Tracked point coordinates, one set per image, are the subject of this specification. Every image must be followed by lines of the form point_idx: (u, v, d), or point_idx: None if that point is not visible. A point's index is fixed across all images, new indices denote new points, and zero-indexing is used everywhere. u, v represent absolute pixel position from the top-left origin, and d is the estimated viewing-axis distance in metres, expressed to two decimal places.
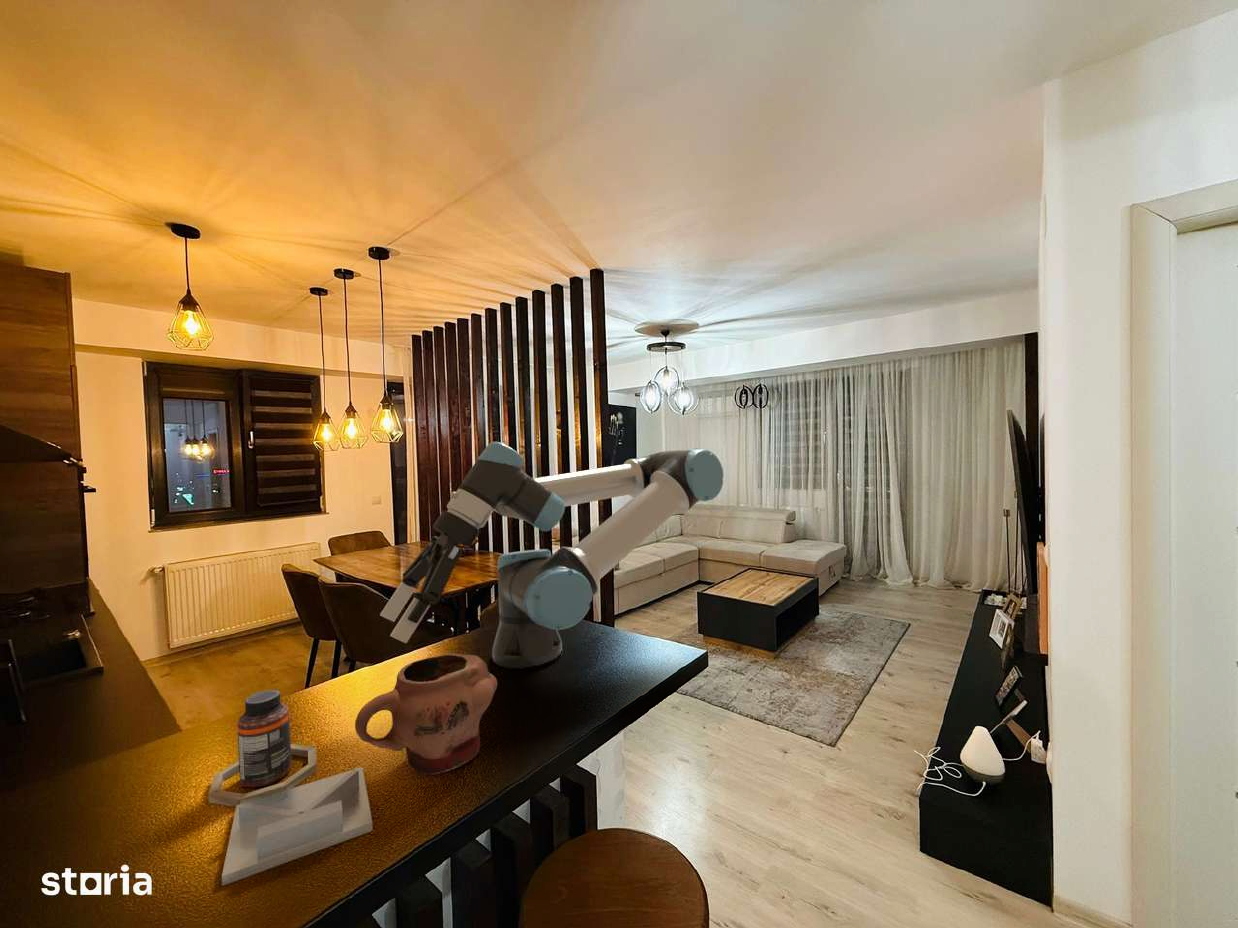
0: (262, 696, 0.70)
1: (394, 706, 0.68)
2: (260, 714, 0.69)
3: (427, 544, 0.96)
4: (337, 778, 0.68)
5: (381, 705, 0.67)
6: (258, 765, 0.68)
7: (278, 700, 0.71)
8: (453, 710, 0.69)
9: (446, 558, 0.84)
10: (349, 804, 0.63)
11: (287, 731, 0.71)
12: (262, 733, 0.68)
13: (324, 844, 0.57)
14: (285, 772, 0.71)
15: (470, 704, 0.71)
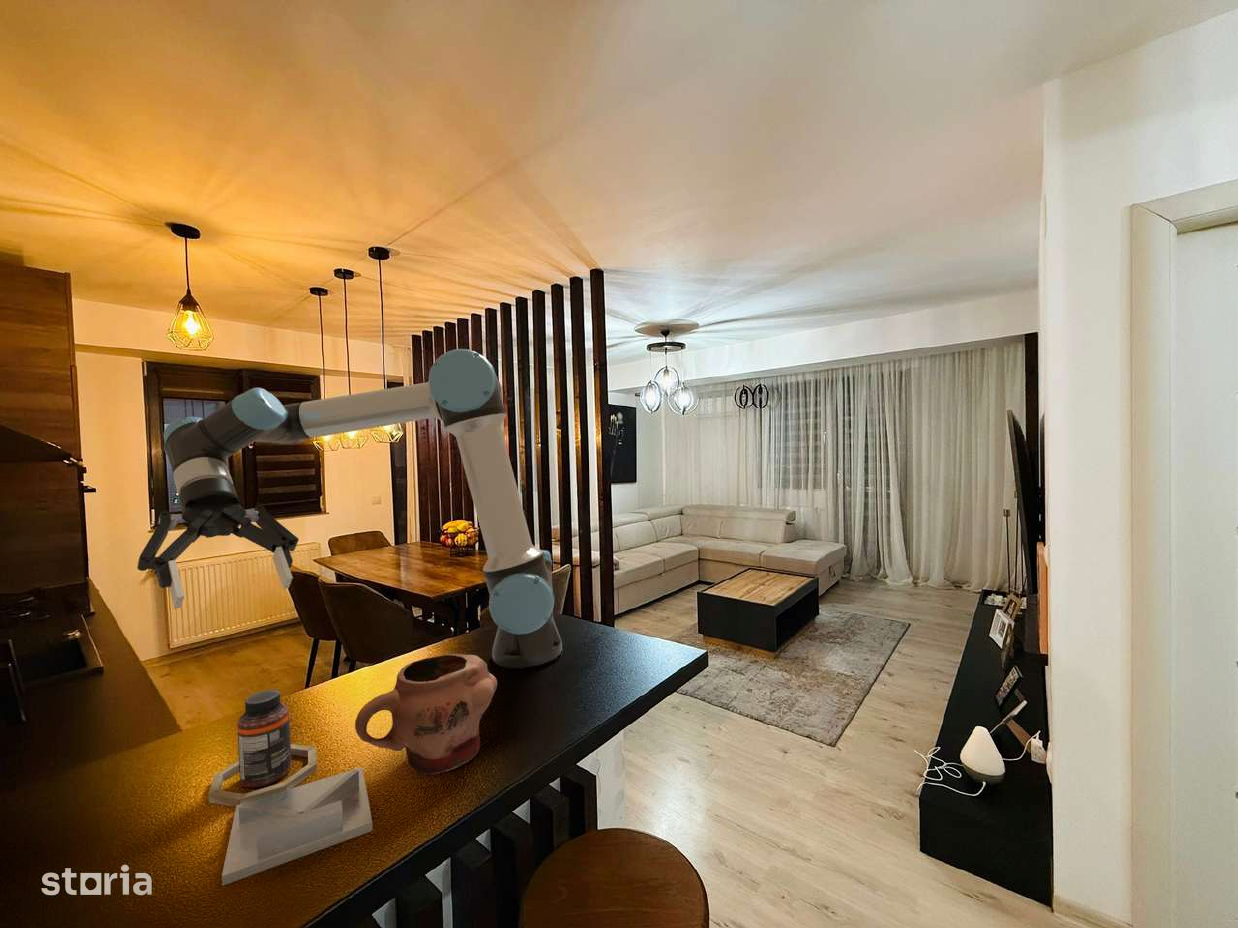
0: (262, 696, 0.70)
1: (394, 706, 0.68)
2: (260, 714, 0.69)
3: None
4: (337, 778, 0.68)
5: (381, 705, 0.67)
6: (258, 765, 0.68)
7: (278, 700, 0.71)
8: (453, 710, 0.69)
9: None
10: (349, 804, 0.63)
11: (287, 731, 0.71)
12: (262, 733, 0.68)
13: (324, 844, 0.57)
14: (285, 772, 0.71)
15: (470, 704, 0.71)
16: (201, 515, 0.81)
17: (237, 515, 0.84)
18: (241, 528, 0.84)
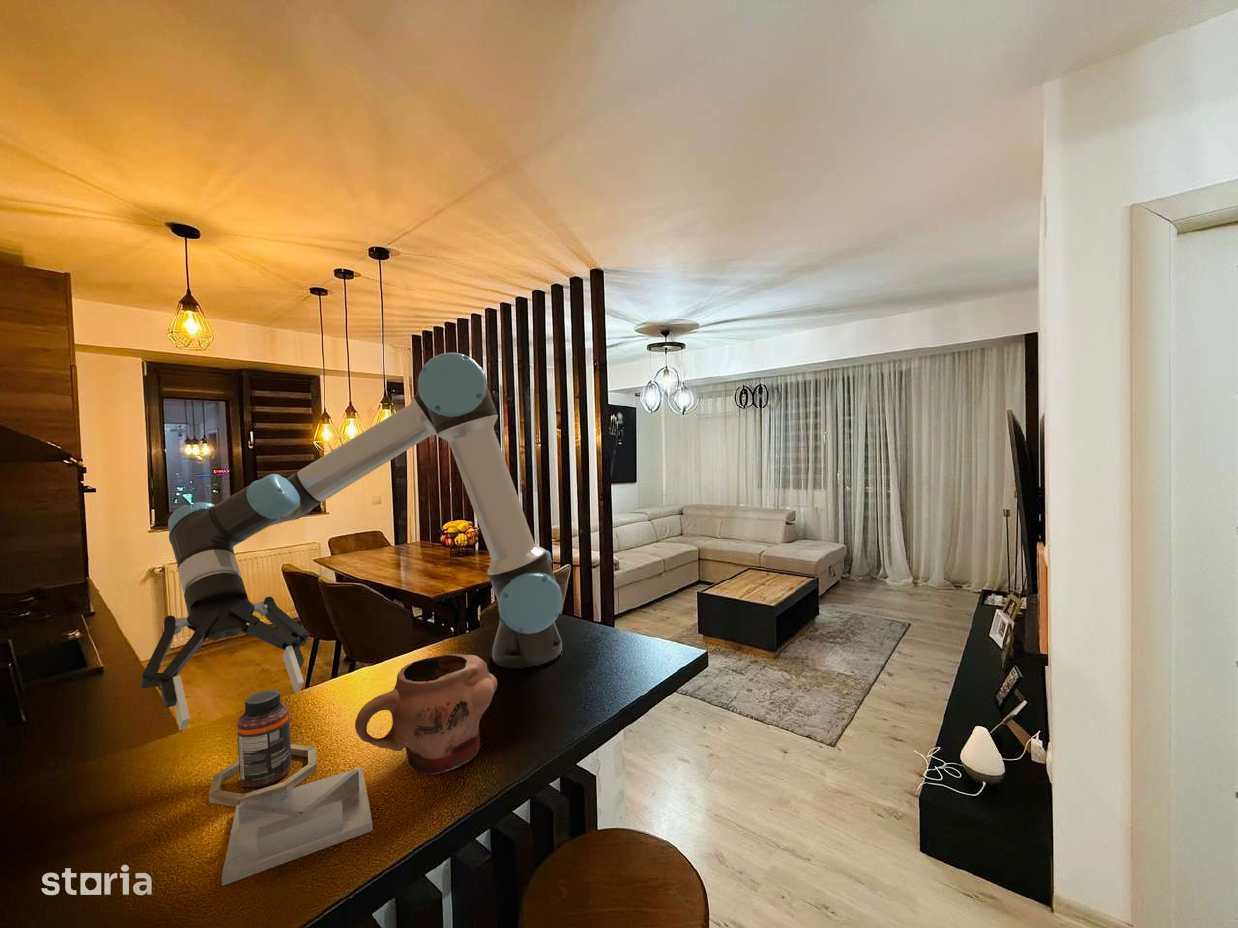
0: (262, 696, 0.70)
1: (394, 706, 0.68)
2: (260, 714, 0.69)
3: None
4: (337, 778, 0.68)
5: (381, 705, 0.67)
6: (258, 765, 0.68)
7: (278, 700, 0.71)
8: (453, 710, 0.69)
9: None
10: (349, 804, 0.63)
11: (287, 731, 0.71)
12: (262, 733, 0.68)
13: (324, 844, 0.57)
14: (285, 772, 0.71)
15: (470, 704, 0.71)
16: (207, 618, 0.77)
17: (245, 613, 0.80)
18: (249, 627, 0.80)
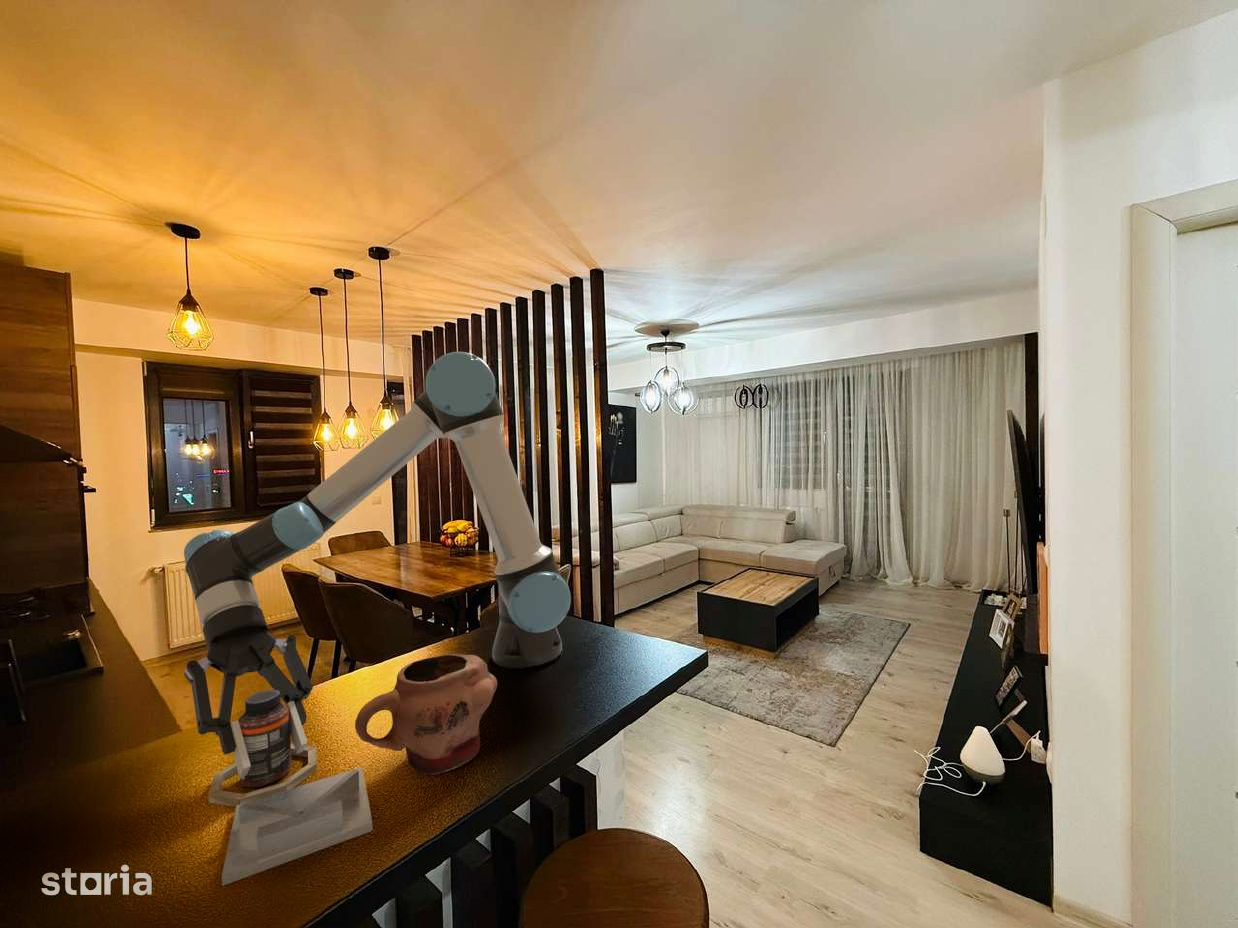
0: (262, 696, 0.70)
1: (394, 706, 0.68)
2: (260, 714, 0.69)
3: None
4: (337, 778, 0.68)
5: (381, 705, 0.67)
6: (258, 765, 0.68)
7: (278, 700, 0.71)
8: (453, 710, 0.69)
9: (192, 683, 0.70)
10: (349, 804, 0.63)
11: (287, 731, 0.71)
12: (262, 733, 0.68)
13: (324, 844, 0.57)
14: (285, 772, 0.71)
15: (470, 704, 0.71)
16: (231, 655, 0.73)
17: (264, 650, 0.76)
18: (262, 667, 0.76)
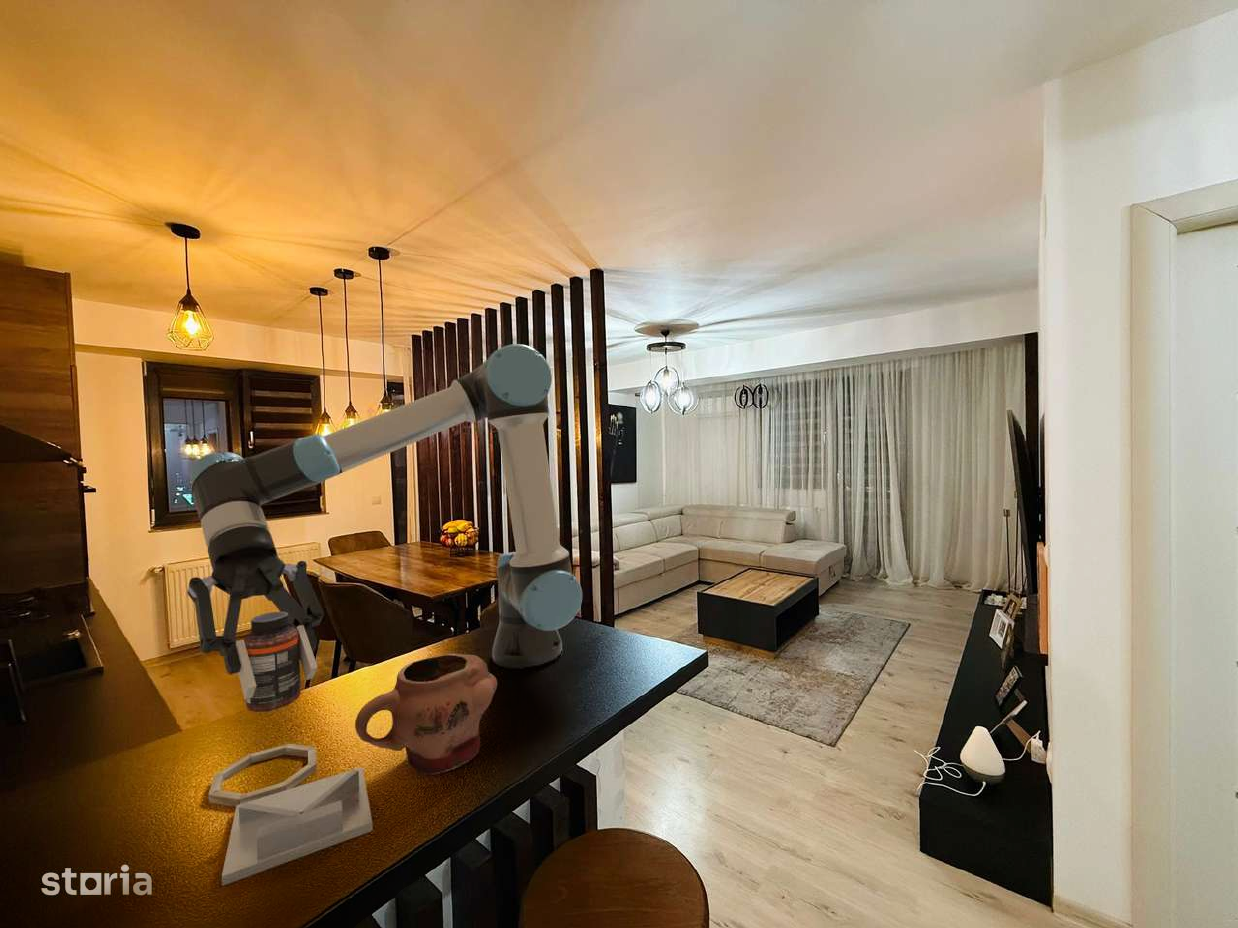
0: (269, 616, 0.65)
1: (394, 706, 0.68)
2: (267, 634, 0.64)
3: None
4: (337, 778, 0.68)
5: (381, 705, 0.67)
6: (265, 688, 0.63)
7: (286, 621, 0.66)
8: (453, 710, 0.69)
9: (195, 602, 0.65)
10: (349, 804, 0.63)
11: (296, 655, 0.66)
12: (269, 654, 0.63)
13: (324, 844, 0.57)
14: (294, 698, 0.65)
15: (470, 704, 0.71)
16: (237, 575, 0.68)
17: (272, 573, 0.71)
18: (270, 590, 0.70)
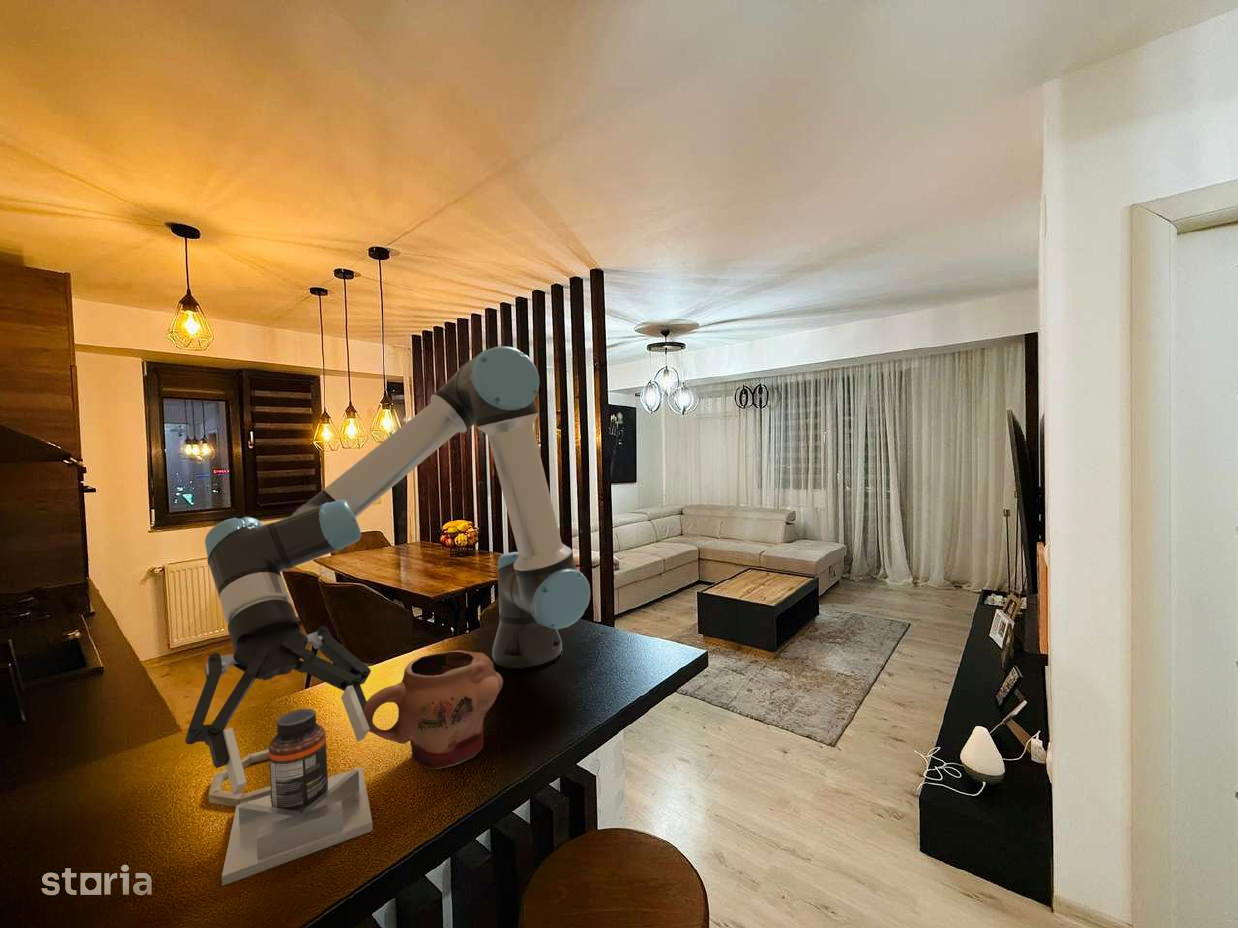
0: (296, 717, 0.62)
1: (400, 698, 0.69)
2: (295, 737, 0.61)
3: None
4: (337, 778, 0.68)
5: (388, 696, 0.69)
6: (293, 796, 0.60)
7: (314, 721, 0.63)
8: (457, 705, 0.70)
9: (206, 680, 0.62)
10: (349, 804, 0.63)
11: (324, 756, 0.63)
12: (297, 759, 0.60)
13: (324, 844, 0.57)
14: None
15: (475, 701, 0.72)
16: (257, 654, 0.65)
17: (299, 647, 0.68)
18: (304, 663, 0.68)
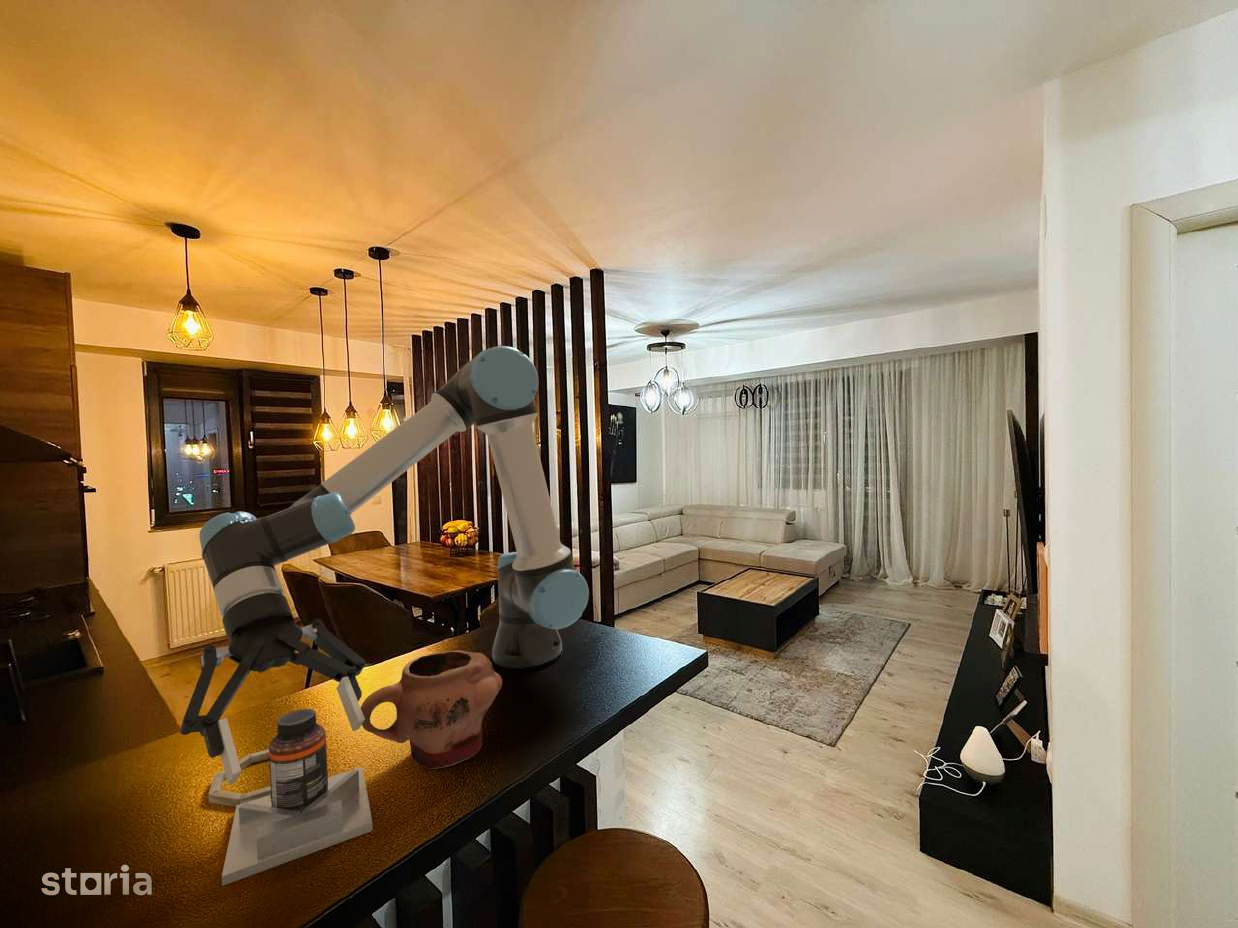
0: (296, 717, 0.62)
1: (397, 699, 0.70)
2: (295, 737, 0.61)
3: None
4: (337, 778, 0.68)
5: (384, 696, 0.69)
6: (293, 796, 0.60)
7: (314, 721, 0.63)
8: (452, 706, 0.70)
9: None
10: (349, 804, 0.63)
11: (324, 756, 0.63)
12: (297, 759, 0.60)
13: (324, 844, 0.57)
14: None
15: (471, 702, 0.72)
16: (252, 647, 0.66)
17: (294, 639, 0.69)
18: (299, 655, 0.69)
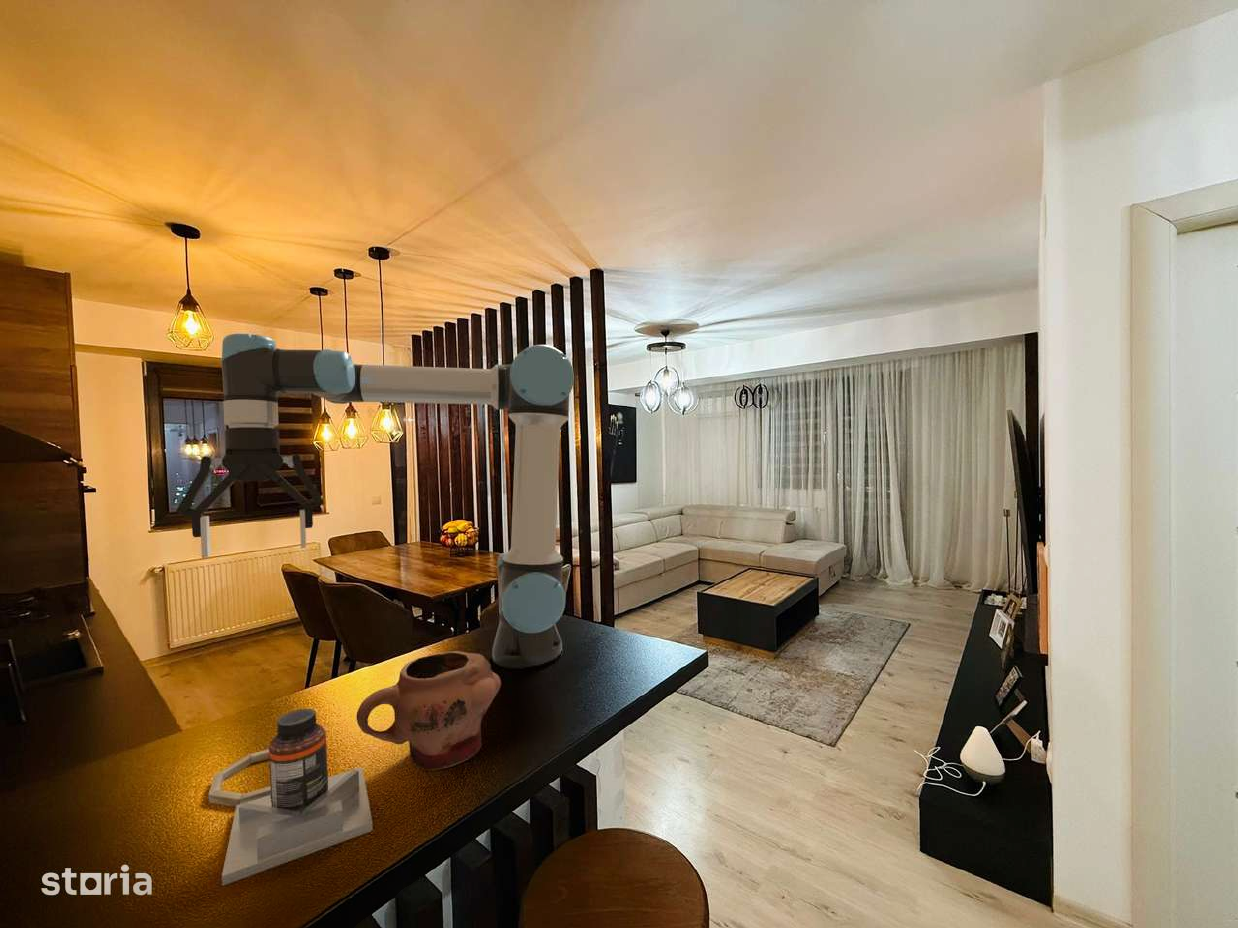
0: (296, 716, 0.62)
1: (394, 701, 0.70)
2: (295, 737, 0.61)
3: None
4: (337, 778, 0.68)
5: (381, 699, 0.69)
6: (293, 796, 0.60)
7: (314, 721, 0.63)
8: (449, 708, 0.69)
9: None
10: (349, 804, 0.63)
11: (324, 756, 0.63)
12: (297, 759, 0.60)
13: (324, 844, 0.57)
14: None
15: (469, 703, 0.72)
16: (236, 468, 0.84)
17: (270, 470, 0.87)
18: None
